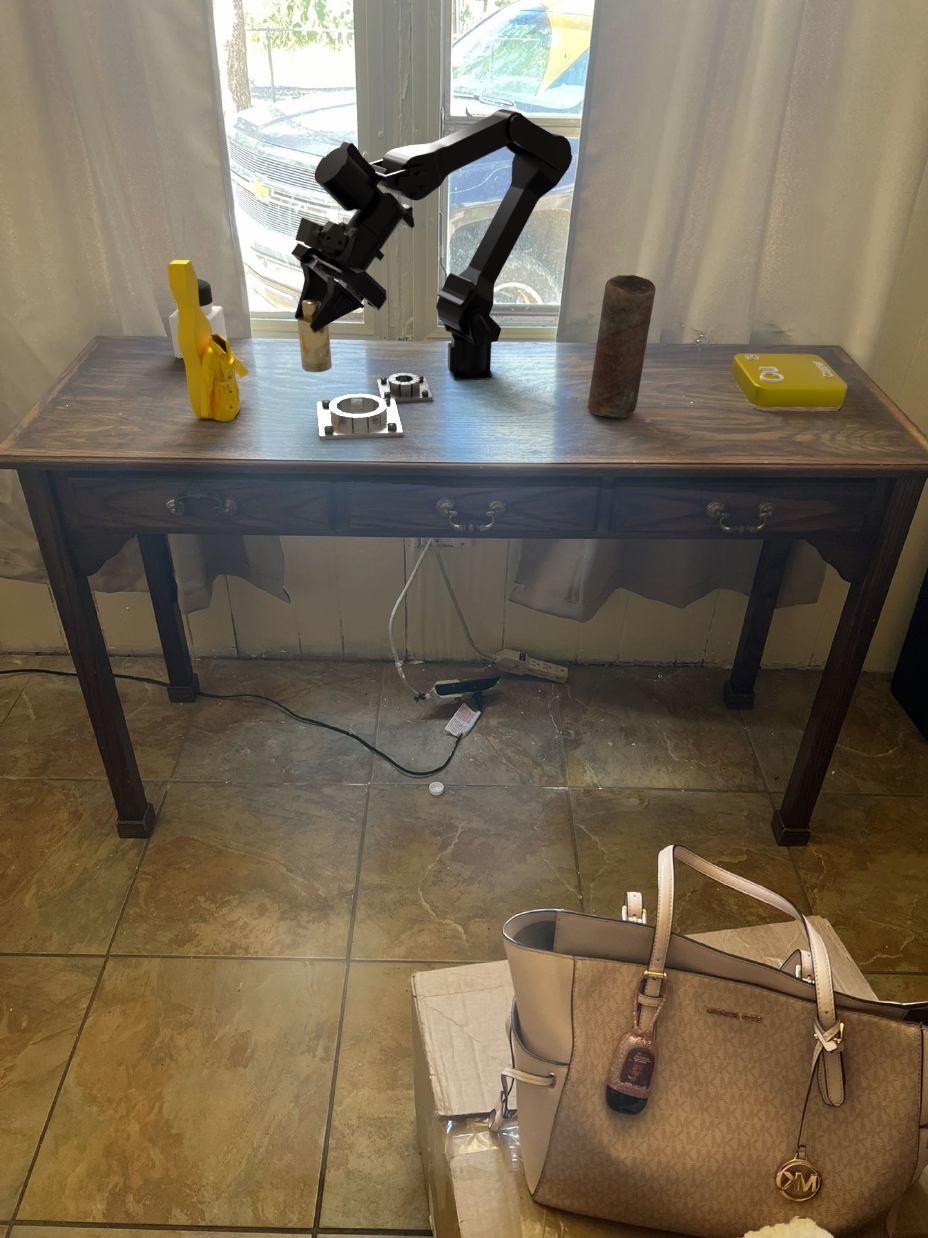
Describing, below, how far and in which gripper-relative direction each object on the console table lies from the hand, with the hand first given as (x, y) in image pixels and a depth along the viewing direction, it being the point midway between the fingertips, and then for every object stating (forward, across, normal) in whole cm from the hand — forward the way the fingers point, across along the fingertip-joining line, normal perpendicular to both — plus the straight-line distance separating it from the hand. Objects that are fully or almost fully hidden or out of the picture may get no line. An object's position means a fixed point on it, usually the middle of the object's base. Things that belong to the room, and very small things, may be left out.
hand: (304, 324), depth 128 cm
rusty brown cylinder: (-17, +25, +37) cm, 48 cm away
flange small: (-2, +1, +21) cm, 21 cm away
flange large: (+6, +7, +12) cm, 16 cm away
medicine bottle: (+13, -32, +6) cm, 35 cm away
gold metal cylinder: (+4, 0, +6) cm, 7 cm away
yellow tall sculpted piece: (+18, -7, +1) cm, 20 cm away
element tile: (-38, +34, +59) cm, 78 cm away
